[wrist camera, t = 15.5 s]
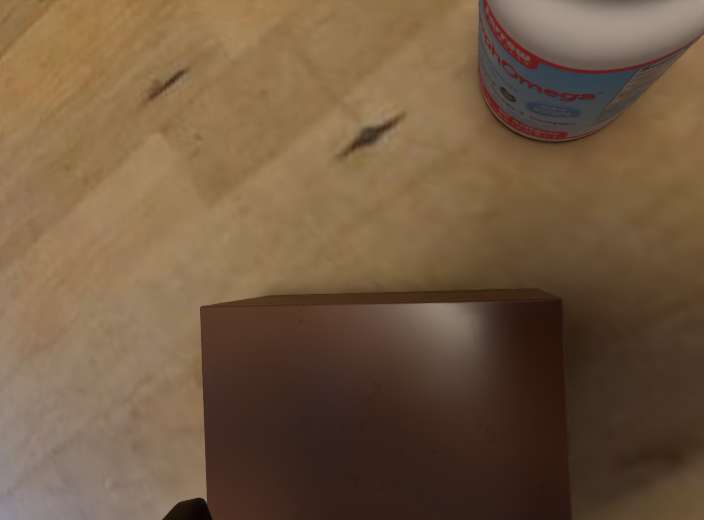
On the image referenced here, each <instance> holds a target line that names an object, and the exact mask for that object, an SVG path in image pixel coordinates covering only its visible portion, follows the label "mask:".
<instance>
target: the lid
mask: <svg viewBox="0 0 704 520" xmlns="http://www.w3.org/2000/svg"><path fill="white" fill-rule="evenodd" d="M200 318H201V346H202V373H203V401H204V428H205V456H206V484H207V506H208V508H209V511H210V514H211V516H212V519H213V520H573V508H572V487H571V467H570V446H569V425H568V405H567V384H566V363H565V343H564V322H563V301H562V299H561V298H558V297H539V298H495V299H450V300H405V301H360V302H316V303H271V304H226V305H205V306H201V307H200Z"/></svg>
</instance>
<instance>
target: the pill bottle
mask: <svg viewBox="0 0 704 520" xmlns="http://www.w3.org/2000/svg"><path fill="white" fill-rule="evenodd" d="M703 34H704V0H479V36H478V40H479V42H478V73H479V81H480V87H481V90H482V93H483V96H484V98H485V100H486V102H487V104H488V106H489V108H490V109H491V111H492V112H493V113H494V114H495V116H496V117H497V118H498V119H499V120H500V121H501V122H502V123H504V124H505V125H506V126H507V127H509V128H510V129H512V130H513V131H515V132H517V133H519V134H521V135H524V136H526V137H529V138H533V139H537V140H542V141H553V142H554V141H567V140H573V139H578V138H581V137H584V136H587V135H589V134H592V133H594V132H596V131H598V130H600V129H602V128H603V127H605V126H606V125H608V124H609V123H611V122H612V121H613V120H615V119H616V118H617V117H618V116H620V115H621V114H622V113H623V112H624V111H625V110H626V109H627V108H628V107H629V106H630V105H631V104H633V103H634V102H635V101H636V100H637V99H638V98H639V97H640V96H641V95H642V94H643V93H644V92H645V91H646V90H647V89H648V88H649V87H650V86H651V85H652V84H653V83H654V82H655V81H656V80H658V79H659V78H660V77H661V76H662V75H663V74H664V73H665V72H666V71H667V70H668V69H669V68H670V67H671V66H672V65H673V64H674V63H675V62H676V61H677V60H678V59H679V58H680V57H681V56H682V55H683V54H684V53H685V52H686V51H687V50H688V49H689V48H690V47H691V46H692V45H693V44H694V43H695V42H696V41H697V40H698V39H699V38H700V37H701V36H702V35H703Z"/></svg>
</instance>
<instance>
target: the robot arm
mask: <svg viewBox="0 0 704 520" xmlns="http://www.w3.org/2000/svg"><path fill="white" fill-rule="evenodd" d="M162 520H213V519H212V516H211V514H210V511H209V508H208V506H207V503H206V502H205V500H204V499H202V498H195V499H191V500H186V501H182V502H179V503H178V504H176V505H175V506H174V507H173V508H172V510H171V511H170V512H169V513H168V514H167V515H166V516H165V517H164V518H163V519H162Z"/></svg>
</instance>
